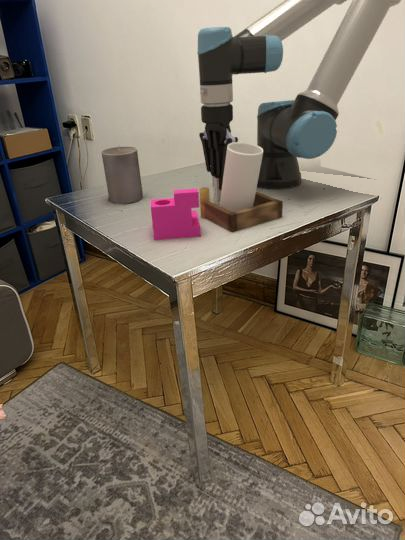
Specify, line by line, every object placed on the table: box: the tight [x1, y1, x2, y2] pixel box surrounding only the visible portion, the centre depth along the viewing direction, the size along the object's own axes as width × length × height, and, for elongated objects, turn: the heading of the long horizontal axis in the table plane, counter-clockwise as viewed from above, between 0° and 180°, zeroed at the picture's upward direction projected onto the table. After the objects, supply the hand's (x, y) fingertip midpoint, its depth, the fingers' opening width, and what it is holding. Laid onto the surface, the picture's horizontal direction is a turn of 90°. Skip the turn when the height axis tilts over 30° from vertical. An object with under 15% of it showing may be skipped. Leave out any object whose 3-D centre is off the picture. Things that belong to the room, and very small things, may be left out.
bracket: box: [150, 188, 201, 241], centre depth 92 cm, size 12×10×10 cm
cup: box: [218, 141, 263, 212], centre depth 95 cm, size 8×8×16 cm
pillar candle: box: [101, 146, 144, 205], centre depth 112 cm, size 10×10×15 cm
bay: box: [198, 187, 284, 233], centre depth 97 cm, size 16×13×7 cm
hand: (219, 200), depth 105 cm, fingers closed
